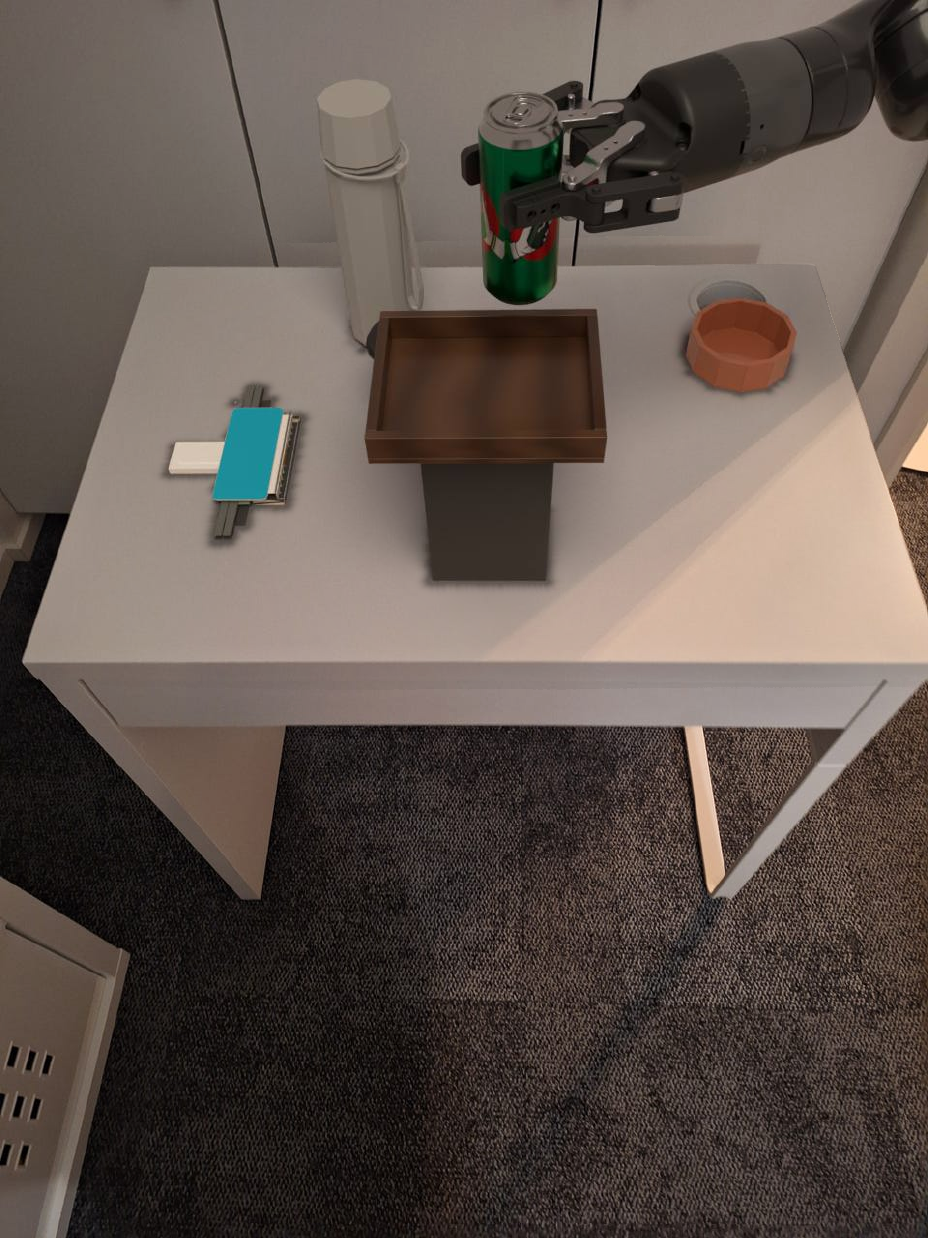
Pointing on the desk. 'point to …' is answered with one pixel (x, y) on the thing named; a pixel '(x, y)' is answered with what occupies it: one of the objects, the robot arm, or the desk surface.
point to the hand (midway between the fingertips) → (483, 190)
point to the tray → (487, 388)
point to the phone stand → (245, 460)
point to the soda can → (510, 158)
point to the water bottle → (368, 200)
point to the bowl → (740, 344)
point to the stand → (488, 520)
